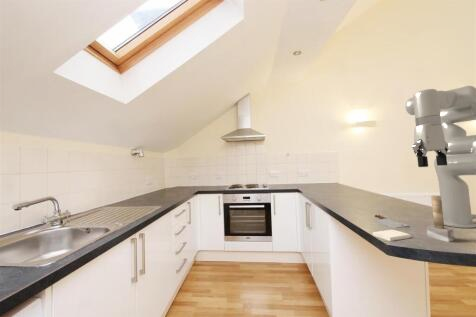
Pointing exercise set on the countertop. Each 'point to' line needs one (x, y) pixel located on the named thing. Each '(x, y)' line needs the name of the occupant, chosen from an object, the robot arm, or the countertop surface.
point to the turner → (439, 222)
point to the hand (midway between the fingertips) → (432, 166)
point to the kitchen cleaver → (389, 222)
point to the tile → (391, 235)
